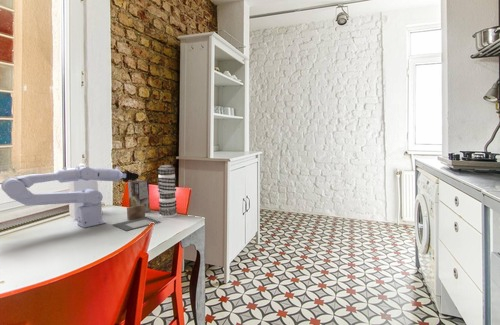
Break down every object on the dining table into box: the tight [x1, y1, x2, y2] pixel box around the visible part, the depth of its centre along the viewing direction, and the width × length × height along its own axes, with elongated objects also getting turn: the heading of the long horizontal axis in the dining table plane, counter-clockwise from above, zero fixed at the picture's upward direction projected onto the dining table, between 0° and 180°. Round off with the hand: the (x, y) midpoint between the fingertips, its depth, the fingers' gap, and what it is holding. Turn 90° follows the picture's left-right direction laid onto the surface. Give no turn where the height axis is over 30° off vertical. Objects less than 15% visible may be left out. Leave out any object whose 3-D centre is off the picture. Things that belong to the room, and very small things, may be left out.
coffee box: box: [127, 179, 151, 213], centre depth 155 cm, size 9×6×16 cm
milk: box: [68, 163, 99, 221], centre depth 147 cm, size 12×12×26 cm
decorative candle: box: [156, 164, 178, 218], centre depth 145 cm, size 9×9×25 cm
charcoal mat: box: [112, 216, 161, 232], centre depth 132 cm, size 16×13×1 cm
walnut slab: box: [126, 204, 146, 221], centre depth 141 cm, size 8×2×6 cm, turn 138°
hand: (134, 176), depth 146 cm, fingers open, 7 cm apart
